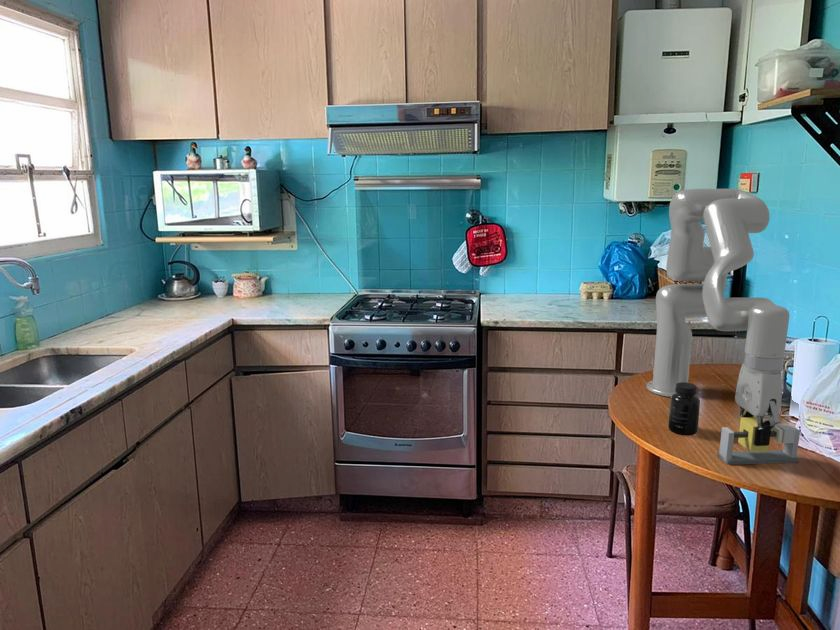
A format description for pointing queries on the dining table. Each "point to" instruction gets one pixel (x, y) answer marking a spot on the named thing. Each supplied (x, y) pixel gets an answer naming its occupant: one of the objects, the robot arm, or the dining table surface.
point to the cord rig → (778, 433)
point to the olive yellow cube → (750, 434)
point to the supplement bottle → (684, 410)
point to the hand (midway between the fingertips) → (753, 438)
